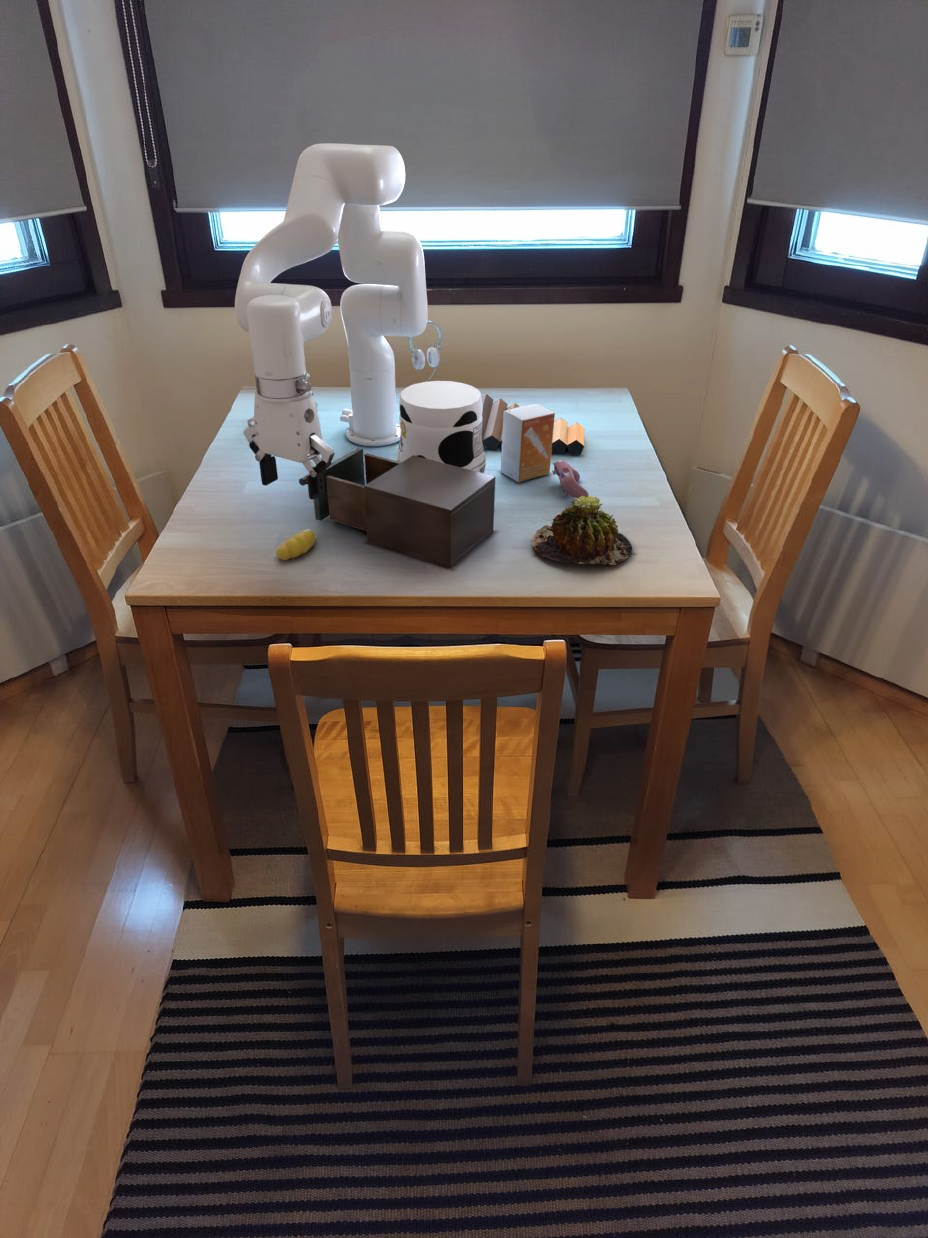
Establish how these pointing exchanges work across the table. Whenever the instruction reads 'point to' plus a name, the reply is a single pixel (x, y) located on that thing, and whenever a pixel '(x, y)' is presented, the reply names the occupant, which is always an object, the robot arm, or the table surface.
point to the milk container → (442, 424)
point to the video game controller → (569, 479)
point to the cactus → (582, 536)
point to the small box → (527, 442)
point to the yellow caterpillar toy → (296, 545)
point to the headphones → (432, 353)
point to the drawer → (348, 487)
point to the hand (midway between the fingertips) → (293, 489)
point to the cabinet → (430, 510)
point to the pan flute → (495, 411)
